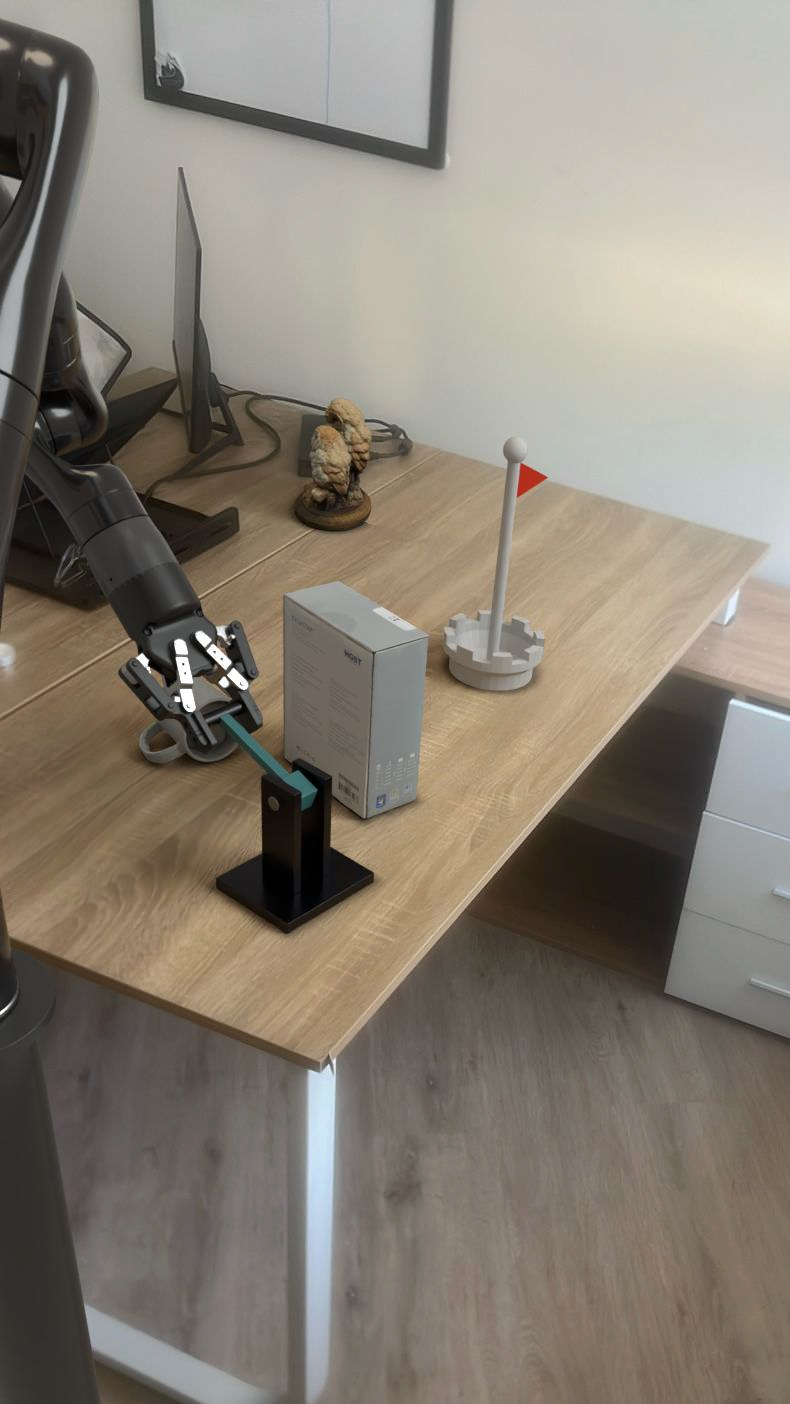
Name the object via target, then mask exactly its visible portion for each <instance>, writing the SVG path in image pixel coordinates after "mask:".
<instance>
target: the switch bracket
mask: <svg viewBox="0 0 790 1404" xmlns="http://www.w3.org/2000/svg"><path fill="white" fill-rule="evenodd" d="M297 770H299V771H300V772H301V773H302V774H303V775H304V776H305V777H306V778H307V779H308V780H309V781H310V782H311V783H312V784H313V785H314V786H315V787H316V788H317V789H318V790H317V793H316V796H315V798H314V801H313V803H312V806H310V807H308V808H306V809H304V810H303V811H302V792H301V791H299V790H298V789H296V788H294V787H293V786H291V785H289V784H287V783H286V782H284V781H282V780H280V779H279V778H277V777H275V776H274V775H272V774H270V773H266V772H265V773H264V774H263V775H261V776H260V807H261V809H260V813H261V814H260V816H261V819H260V820H261V853H260V854H257V855H256V856H254V857H252V858H250V859H248V860H246V861H245V862H243V863H240V864H238V865H237V866H235V867H233V868H231V869H230V870H227V871H225V872H224V873H222V874H220V875H218V876H216V877H215V888H216V889H218V890H219V891H222V893H224V894H226V895H227V896H229V897H230V898H232V899H234V900H235V901H236V902H238V903H240V904H241V905H243V906H244V907H246V908H247V909H249V910H250V911H252V912H253V913H255V914H256V915H258V916H259V917H261V918H263V919H265V921H267V922H269V923H271V924H272V925H274V927H277V928H278V929H280V930H281V931H283V932H285V934H290V933H291V932H293V931H295V930H296V929H298V928H300V927H302V926H303V925H305V924H306V923H308V922H310V921H312V920H313V919H315V918H316V917H318V916H320V915H322V914H323V913H325V912H326V911H329V910H330V909H332V908H333V907H335V906H337V905H338V904H340V903H341V902H343V901H345V900H346V899H348V898H349V897H352V896H353V895H355V894H357V893H358V892H360V891H361V890H363V889H364V888H366V887H368V886H369V885H372V884H373V883H374V882H375V872H374V871H373V870H371V869H369V868H367V867H366V866H364V865H362V864H361V863H359V862H357V861H355V860H354V859H352V858H350V857H349V856H347V855H345V854H343V853H342V852H340V851H339V850H337V849H335V848H333V847H332V845H331V842H332V841H331V840H332V807H333V806H332V805H333V801H332V800H333V799H332V798H333V795H332V776H331V775H329V774H327V773H326V772H324V771H322V770H320V769H319V768H317V767H315V766H313V765H312V764H310V763H308V762H306V761H305V760H303V759H301V758H297V759H295V760H293V761H292V763H291V773H293V772H295V771H297Z"/></svg>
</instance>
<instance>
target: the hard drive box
mask: <svg viewBox="0 0 790 1404" xmlns="http://www.w3.org/2000/svg"><path fill="white" fill-rule="evenodd" d="M282 620H283V621H282V626H283V627H282V642H283V643H282V651H283V652H282V653H283V654H282V655H283V659H282V661H283V662H282V663H283V665H282V667H283V669H282V676H283V677H282V678H283V679H282V680H283V681H282V683H283V704H282V705H283V706H282V707H283V716H282V717H283V758H284V759H285V760H287V761H288V762H289V763H290V764H292V761H293V760H295V759H297V758H301V759H303V760H305V761H306V762H308V763H310V764H312V765H313V766H315V767H317V768H319V769H320V770H322V771H324V772H326V773H327V774H329V775H331V776H332V797H334V798H336V799H337V800H338V801H339V802H340V803H342V804H343V805H344V806H346V807H347V808H348V809H350V810H352V811H353V812H354V813H355V814H357V815H358V816H359V817H360V818H361V819H370V818H372V817H376V816H377V815H380V814H382V813H385V812H387V811H390V810H393V809H395V808H398V807H401V806H403V805H405V804H408V803H411V802H413V801H416V800H417V793H418V781H419V770H420V769H419V768H420V754H421V741H422V728H423V727H422V726H423V715H424V701H425V689H426V688H425V687H426V676H427V675H426V673H427V672H426V671H427V661H428V660H427V659H428V647H429V646H428V645H429V638H430V635H429V634H428V633H426V632H424V631H423V630H422V629H419V628H418V627H417V626H415V625H414V624H411V623H410V622H408V621H406V620H405V619H403V618H402V617H400V616H398V615H396V614H395V613H393V612H392V611H390V610H388V609H386V608H385V607H383V606H382V605H380V604H378V603H376V602H375V601H373V600H371V599H369V598H368V597H366V596H365V595H363V594H361V593H359V592H358V591H356V590H354V589H353V588H351V587H349V586H347V585H346V584H344V583H342V582H341V581H339V580H337V581H332V582H328V583H324V584H320V585H316V586H311V587H307V588H303V589H299V590H298V589H297V590H295V591H291V592H285V593H283V595H282Z"/></svg>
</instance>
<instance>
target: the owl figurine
mask: <svg viewBox="0 0 790 1404" xmlns="http://www.w3.org/2000/svg"><path fill="white" fill-rule="evenodd" d="M372 439H373V436H372V431H371V429H370V428H369V427H368V426H367V425H366V420H365V416H364V415H363V413H362V411H361V408H360V407H358V405H357V404H355V402H353V401H351V400H349V399H347V398H341V397H340V398H338V397H337V398H333V399H332V400H331V401H330V403H329V404H328V406H327V408H326V409H325V411H324V424H323V425H321V424H320V425H319V426H316V428H315V429H314V430H313V435H312V437H311V443H310V445H311V447H312V448H311V451H310V452H309V454H308V455H309V460H310V462H311V463H310V466H311V478H312V482H311V481H310V482H309V483H305V484H304V486H303V489H304V490H303V491H302V492H300V493H299V494H298V496H296V499H295V501H294V513H295V515H296V517H297V518H298V519H299V521H300V522H302V523H304V524H306V525H307V526H308V527H311V528H313V529H319V530H323V531H332V532H337V531H339V532H343V531H348V530H352V529H355V528H357V527H359V526H361V525H362V524H364V523H365V522H366V521H368V519H369V517H370V516H371V512H372V500H371V498H370V496H369V494H368V493H367V492H365V491H364V490H363V488H362V487H361V486H360V484H361V476H360V475H363V474H364V473H365V471H364V470H365V469H366V468H367V465H368V461H370V460H371V455H370V453H371V450H372V447H371V446H372Z"/></svg>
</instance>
